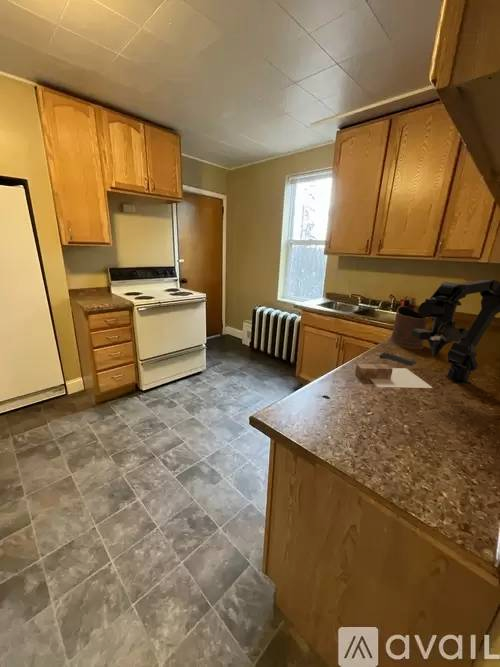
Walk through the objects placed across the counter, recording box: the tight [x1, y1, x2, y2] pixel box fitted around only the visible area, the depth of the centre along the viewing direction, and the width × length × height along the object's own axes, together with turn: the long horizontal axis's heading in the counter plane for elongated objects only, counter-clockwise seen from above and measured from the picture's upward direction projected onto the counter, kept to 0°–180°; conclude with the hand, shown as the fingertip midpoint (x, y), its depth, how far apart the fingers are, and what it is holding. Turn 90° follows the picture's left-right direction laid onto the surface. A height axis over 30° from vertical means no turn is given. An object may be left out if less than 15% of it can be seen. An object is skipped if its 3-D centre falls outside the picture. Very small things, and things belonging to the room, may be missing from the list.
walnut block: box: [354, 363, 393, 380], centre depth 115 cm, size 4×4×13 cm
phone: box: [378, 352, 417, 367], centre depth 136 cm, size 8×1×15 cm
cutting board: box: [369, 367, 434, 389], centre depth 116 cm, size 22×18×1 cm
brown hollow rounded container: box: [387, 305, 433, 350], centre depth 156 cm, size 18×24×25 cm
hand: (434, 355), depth 110 cm, fingers closed
